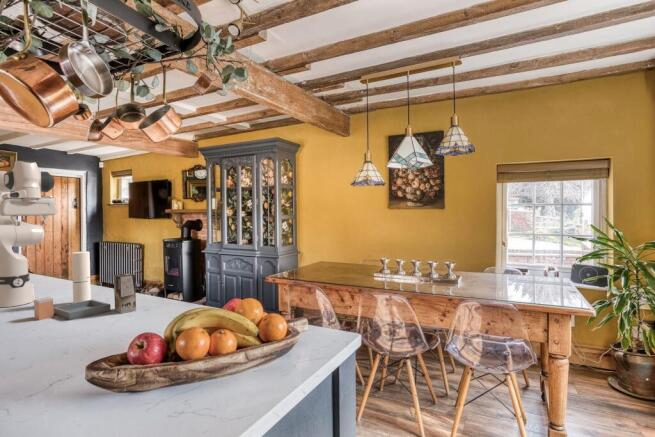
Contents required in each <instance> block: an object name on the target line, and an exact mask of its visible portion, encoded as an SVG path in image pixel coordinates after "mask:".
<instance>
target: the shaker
mask: <svg viewBox="0 0 655 437" xmlns="http://www.w3.org/2000/svg"><path fill="white" fill-rule="evenodd" d="M53 307H54V298H53V297H49V296H47V297H41V298H38V299H34V301H33V308H34V313H33V314H34V319H36V320H38V321H42V320H46V319H51V318H54V316H55V315H54V312H53Z"/></svg>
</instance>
